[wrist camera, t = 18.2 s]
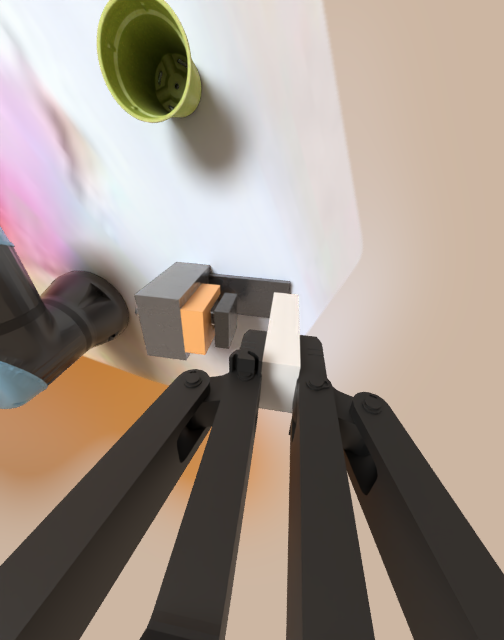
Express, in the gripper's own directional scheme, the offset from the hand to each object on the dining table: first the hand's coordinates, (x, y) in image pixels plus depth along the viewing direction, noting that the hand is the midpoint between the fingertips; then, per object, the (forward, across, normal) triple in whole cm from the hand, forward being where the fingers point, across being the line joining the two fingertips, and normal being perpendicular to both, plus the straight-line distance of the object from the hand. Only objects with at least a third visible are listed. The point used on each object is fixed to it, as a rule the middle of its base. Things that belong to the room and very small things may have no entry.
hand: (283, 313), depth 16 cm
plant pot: (+27, -16, +16) cm, 35 cm away
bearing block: (+26, -9, -12) cm, 30 cm away
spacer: (+22, -12, -12) cm, 27 cm away
